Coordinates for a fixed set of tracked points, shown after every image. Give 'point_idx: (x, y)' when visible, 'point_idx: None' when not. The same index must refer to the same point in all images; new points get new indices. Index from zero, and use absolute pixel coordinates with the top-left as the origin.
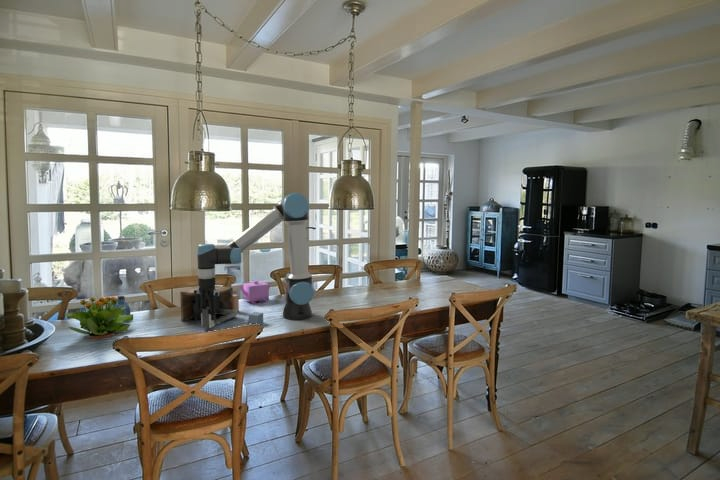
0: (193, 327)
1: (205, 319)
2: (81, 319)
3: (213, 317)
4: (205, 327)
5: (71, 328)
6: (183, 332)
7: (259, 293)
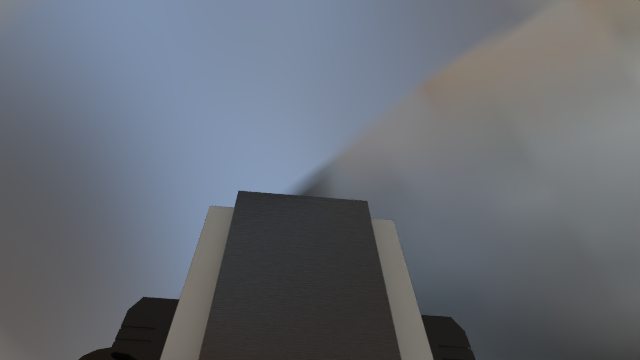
0: (575, 266)
1: (297, 278)
2: None
3: (117, 346)
4: (302, 198)
5: None
6: (621, 21)
7: None
